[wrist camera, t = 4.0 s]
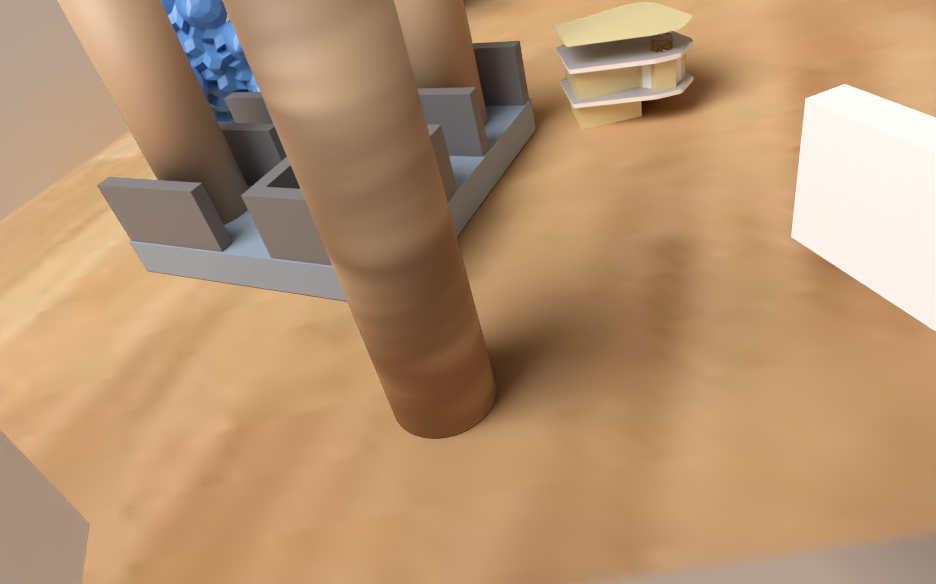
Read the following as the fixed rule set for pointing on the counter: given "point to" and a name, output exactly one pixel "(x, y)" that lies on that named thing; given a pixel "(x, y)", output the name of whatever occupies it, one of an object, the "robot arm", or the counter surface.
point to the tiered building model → (623, 61)
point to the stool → (280, 144)
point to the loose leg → (374, 197)
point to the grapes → (212, 51)
